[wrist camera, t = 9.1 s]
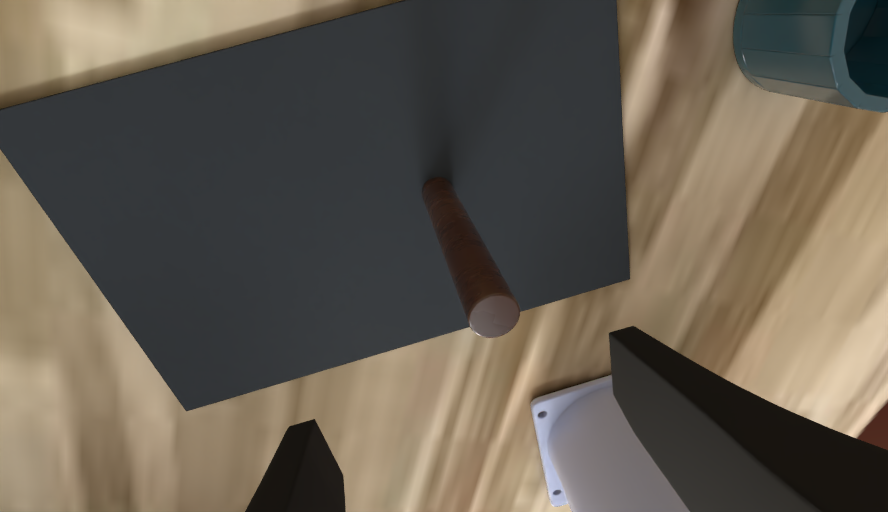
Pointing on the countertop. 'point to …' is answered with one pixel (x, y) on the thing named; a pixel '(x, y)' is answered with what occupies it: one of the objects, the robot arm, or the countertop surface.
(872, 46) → the espresso cup
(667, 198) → the countertop surface
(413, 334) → the mat
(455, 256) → the stirring stick
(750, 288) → the countertop surface
